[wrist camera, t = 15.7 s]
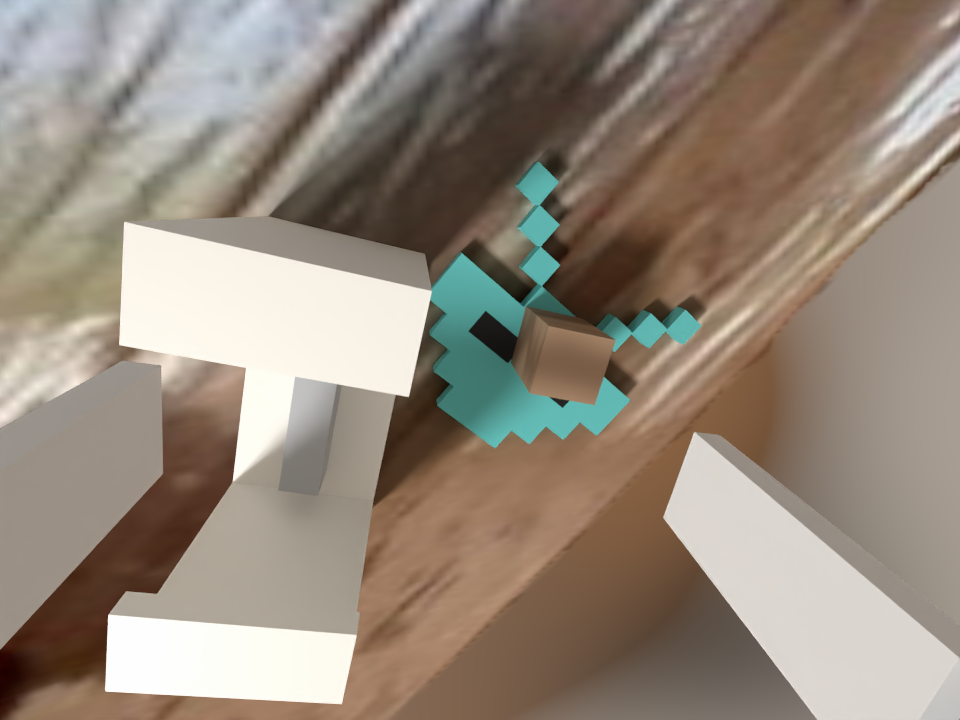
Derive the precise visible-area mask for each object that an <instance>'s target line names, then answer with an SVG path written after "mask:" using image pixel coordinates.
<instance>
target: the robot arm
mask: <svg viewBox="0 0 960 720" xmlns="http://www.w3.org/2000/svg"><path fill="white" fill-rule="evenodd" d="M162 474H163V448H162V389H161V366H160V365H152V364H144V363H136V362H128V361H121V362H120V363H118V364H116V365H114V366H112V367H111V368H109V369H107V370H105V371H103V372H102V373H100V374H98V375H96V376H94V377H93V378H91V379H89V380H87V381H85V382H83V383H82V384H80V385H78V386H76V387H74V388H73V389H71V390H69V391H67V392H65V393H64V394H62V395H60V396H58V397H56V398H55V399H53V400H51V401H49V402H47V403H45V404H44V405H42V406H40V407H38V408H36V409H35V410H33V411H31V412H29V413H27V414H26V415H24V416H22V417H20V418H18V419H17V420H15V421H13V422H11V423H9V424H7V425H6V426H4V427H2V428H0V649H1V648H2V647H3V646H4V645H5V644H6V643H7V642H8V640H9V639H10V638H11V637H12V636H13V635H14V634H15V633H16V632H17V631H18V630H19V629H20V628H21V626H22V625H23V624H24V623H25V622H26V621H27V620H28V619H29V618H30V617H31V616H32V615H33V613H34V612H35V611H36V610H37V609H38V608H39V607H40V606H41V605H42V604H43V603H44V602H45V601H46V599H47V598H48V597H49V596H50V595H51V594H52V593H53V592H54V591H55V590H56V589H57V588H58V586H59V585H60V584H61V583H62V582H63V581H64V580H65V579H66V578H67V577H68V576H69V575H70V573H71V572H72V571H73V570H74V569H75V568H76V567H77V566H78V565H79V564H80V563H81V562H82V561H83V559H84V558H85V557H86V556H87V555H88V554H89V553H90V552H91V551H92V550H93V549H94V548H95V546H96V545H97V544H98V543H99V542H100V541H101V540H102V539H103V538H104V537H105V536H106V535H107V534H108V532H109V531H110V530H111V529H112V528H113V527H114V526H115V525H116V524H117V523H118V522H119V521H120V519H121V518H122V517H123V516H124V515H125V514H126V513H127V512H128V511H129V510H130V509H131V508H132V507H133V505H134V504H135V503H136V502H137V501H138V500H139V499H140V498H141V497H142V496H143V495H144V494H145V492H146V491H147V490H148V489H149V488H150V487H151V486H152V485H153V484H154V483H155V482H156V481H157V480H158V478H159V477H160V476H161V475H162ZM664 519H665V520H666V522H667V523H668V524H669V526H670V527H671V528H672V530H673V531H674V532H675V534H676V535H677V536H678V537H679V539H680V540H681V541H682V543H683V544H684V545H685V547H686V548H687V549H688V551H689V552H690V553H691V555H692V556H693V557H694V558H695V560H696V561H697V562H698V564H699V565H700V566H701V567H702V569H703V570H704V572H705V573H706V574H707V575H708V577H709V578H710V579H711V581H712V582H713V583H714V585H715V586H716V587H717V589H718V590H719V591H720V592H721V594H722V595H723V596H724V598H725V599H726V600H727V602H728V603H729V604H730V606H731V607H732V608H733V610H734V611H735V612H736V614H737V615H738V616H739V617H740V619H741V620H742V621H743V623H744V624H745V625H746V627H747V628H748V629H749V630H750V632H751V633H752V634H753V636H754V637H755V638H756V640H757V641H758V642H759V644H760V645H761V646H762V648H763V649H764V650H765V652H766V653H767V654H768V655H769V657H770V658H771V659H772V661H773V662H774V663H775V664H776V666H777V667H778V669H779V670H780V671H781V672H782V674H783V675H784V676H785V678H786V679H787V680H788V682H789V683H790V684H791V686H792V687H793V688H794V689H795V691H796V692H797V693H798V695H799V696H800V697H801V699H802V700H803V701H804V703H805V704H806V705H807V707H808V708H809V709H810V710H811V712H812V713H813V714H814V716H815V717H816V718H817V720H960V625H959V624H958V623H956V622H955V621H954V620H952V619H951V618H950V617H949V616H948V615H946V614H945V613H944V612H943V611H941V610H940V609H939V608H937V607H936V606H935V605H934V604H932V603H931V602H930V601H929V600H927V599H926V598H925V597H924V596H922V595H921V594H920V593H918V592H917V591H916V590H915V589H913V588H912V587H911V586H910V585H908V584H907V583H906V582H905V581H903V580H902V579H901V578H900V577H898V576H897V575H896V574H895V573H893V572H892V571H891V570H889V569H888V568H887V567H886V566H884V565H883V564H882V563H881V562H879V561H878V560H877V559H876V558H874V557H873V556H872V555H871V554H869V553H868V552H867V551H865V550H864V549H863V548H862V547H860V546H859V545H858V544H857V543H855V542H854V541H853V540H852V539H850V538H849V537H848V536H847V535H845V534H844V533H843V532H841V531H840V530H839V529H838V528H836V527H835V526H834V525H833V524H831V523H830V522H829V521H828V520H826V519H825V518H824V517H822V516H821V515H820V514H819V513H817V512H816V511H815V510H813V509H812V508H811V507H810V506H809V505H807V504H806V503H805V502H804V501H802V500H801V499H800V498H798V497H797V496H796V495H795V494H793V493H792V492H791V491H790V490H788V489H787V488H786V487H785V486H783V485H782V484H781V483H780V482H778V481H777V480H776V479H774V478H773V477H772V476H771V475H769V474H768V473H767V472H765V471H764V470H763V469H762V468H760V467H759V466H758V465H757V464H755V463H754V462H753V461H752V460H750V459H749V458H748V457H747V456H745V455H744V454H743V453H742V452H740V451H739V450H738V449H736V448H735V447H734V446H733V445H731V444H730V443H729V442H728V441H726V440H725V439H724V438H723V437H721V436H720V435H715V434H707V433H699V432H694V434H693V437H692V440H691V443H690V445H689V448H688V451H687V454H686V457H685V459H684V462H683V465H682V468H681V470H680V474H679V476H678V479H677V482H676V484H675V487H674V490H673V493H672V496H671V498H670V501H669V504H668V506H667V510H666V512H665V515H664Z"/></svg>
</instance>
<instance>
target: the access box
mask: <svg viewBox="0 0 960 720" xmlns="http://www.w3.org/2000/svg"><path fill="white" fill-rule="evenodd" d="M431 293H432V289H431V284H430V278H429V273H428V268H427V262H426V257H425V254H424V253H420V252H415V251H411V250H407V249H403V248H399V247H395V246H390V245H386V244H382V243H378V242H374V241H369V240H365V239H361V238H357V237H353V236H349V235H344V234H340V233H336V232H332V231H328V230H324V229H319V228H315V227H311V226H307V225H303V224H298V223H294V222H290V221H286V220H282V219H278V218H273V217H269V216H261V217H236V218H211V219H186V220H161V221H136V222H124V242H123V266H122V291H121V316H120V341H119V345H122V346H128V347H133V348H139V349H144V350H150V351H155V352H161V353H167V354H172V355H178V356H183V357H189V358H194V359H200V360H205V361H211V362H217V363H222V364H228V365H233V366H239V367H244V368H246V374H245V383H244V391H243V400H242V408H241V417H240V425H239V434H238V442H237V451H236V459H235V468H234V476H233V483H232V484H231V486H230V487H229V489H228V490H227V491H226V493H225V494H224V496H223V497H222V499H221V500H220V502H219V503H218V505H217V506H216V508H215V509H214V511H213V512H212V514H211V515H210V517H209V518H208V520H207V521H206V523H205V524H204V525H203V527H202V528H201V530H200V531H199V533H198V534H197V536H196V537H195V539H194V540H193V542H192V543H191V545H190V546H189V548H188V549H187V551H186V552H185V554H184V555H183V557H182V558H181V559H180V561H179V562H178V564H177V565H176V567H175V568H174V570H173V571H172V573H171V574H170V576H169V577H168V579H167V580H166V582H165V583H164V585H163V586H162V588H161V589H160V591H159V592H158V593H157V594H149V593H138V592H127V591H126V592H125V594H124V595H123V596H122V598H121V599H120V600H119V602H118V603H117V604H116V606H115V607H114V608H113V609H112V611H111V612H110V613H109V615H108V638H107V663H106V687H105V691H108V692H126V693H145V694H164V695H182V696H201V697H219V698H238V699H257V700H275V701H294V702H312V703H331V704H342V700H343V696H344V691H345V686H346V682H347V677H348V673H349V668H350V664H351V659H352V654H353V650H354V645H355V641H356V636H357V630H358V622H359V615H360V613H359V612H357V607H358V600H359V594H360V587H361V580H362V574H363V567H364V560H365V553H366V547H367V540H368V533H369V527H370V520H371V513H372V507H373V500H374V496H375V491H376V486H377V481H378V477H379V472H380V467H381V462H382V458H383V453H384V448H385V443H386V439H387V434H388V429H389V424H390V419H391V415H392V410H393V405H394V400H395V396H396V395H400V396H406V397H409V394H410V389H411V385H412V380H413V375H414V371H415V366H416V362H417V357H418V353H419V348H420V343H421V339H422V334H423V330H424V325H425V321H426V316H427V311H428V307H429V302H430V298H431Z"/></svg>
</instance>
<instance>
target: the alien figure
mask: <svg viewBox="0 0 960 720" xmlns="http://www.w3.org/2000/svg"><path fill="white" fill-rule="evenodd" d="M558 183H559V182H558V181H557V180H556V179H555V178H554V177H553V175H552V174H551V173H550V172H549V171H548V170H547V169H546V168H545V167H544V166H543V165H542V164H541V163H540V162H539V161H537V162H535V163H533V165H532V166H531V167H530V168H529V169H528V171H527V172H526V173H525V174H524V175H523V177H522V178H521V179H520V180H519V181H518V183H517V184H516V185H515V186H516V187H517V188H518V189H519V190H520V191H521V192H522V193H523V194H524V195H525V196H526V197H527V198H528V199H529V200H530V201H531V202H532V203H533V204H534V205H535V206H534V207H533V208H532V209H531V211H530V212H529V213H528V214H527V215H526V217H525V218H524V219H523V220H522V221H521V223H520V224H519V225H518V226H517V228H518V229H519V230H520V231H521V232H522V233H524V234H525V235H526V236H527V237H528V238H529V239H530V240H531V241H532V242H533V243H534V244H535V245H536V246H535V247H534V249H533V250H532V251H531V252H530V253H529V254H528V256H527V257H526V258H525V259H524V260H523V261H522V263H521V264H520V265H519V267H520V268H521V269H522V270H523V271H524V272H525V273H526V274H527V275H529V276H530V277H531V278H532V279H533V280H534V281H535V282H536V283H537V285H536V286H535V287H534V288H533V289H532V290H531V292H530V293H529V294H528V295H527V296H526V297H525V298H524V300H523V301H522V302H521V303H519V302H517V301H516V300H515V299H514V298H513V297H512V296H511V295H509V294H508V293H507V292H506V291H505V290H504V289H503V288H501V287H500V286H499V285H498V284H497V283H496V282H495V281H493V280H492V279H491V278H490V277H489V276H488V275H487V274H485V273H484V272H483V271H482V270H481V269H480V268H479V267H477V266H476V265H475V264H474V263H473V262H472V261H470V260H469V259H468V258H467V257H466V256H465V255H464V254H462V253H461V252H460V253H459V254H458V255H457V256H456V257H455V259H454V260H453V261H452V262H451V263H450V265H449V266H448V267H447V268H446V270H445V271H444V272H443V273H442V274H441V276H440V277H439V278H438V279H437V280H436V282H435V283H434V284H433V285H432V286H431V289H432V293H431V298H430V301H432V302H433V303H434V304H435V305H437V306H438V307H439V308H440V309H441V310H443V311H444V312H445V313H444V314H443V315H442V316H441V317H440V319H439V320H438V321H437V322H436V323H435V325H434V326H433V327H432V328H431V329H430V330H429V332H430V336H432V337H433V338H434V339H436V340H437V341H438V342H439V343H441V344H442V345H443V346H444V347H446V348H447V350H446V351H445V352H444V354H443V355H442V356H441V357H440V358H439V359H438V361H437V362H436V363H435V364H434V365H433V370H434V372H435V373H436V374H438V375H439V376H440V377H442V378H443V379H444V380H446V381H447V382H448V383H450V385H449V386H448V387H447V388H446V389H445V390H444V391H443V393H442V394H441V395H440V396H439V397H438V398H437V406H438V407H439V408H441V409H442V410H443V411H445V412H446V413H448V414H449V415H450V416H452V417H453V418H454V419H456V420H457V421H458V422H460V423H461V424H462V425H464V426H465V427H467V428H468V429H469V430H471V431H472V432H473V433H475V434H476V435H477V436H479V437H480V438H482V439H483V440H484V441H486V442H487V443H488V444H490V445H491V446H492V447H494V448H496V447H497V446H498V445H499V443H500V442H501V441H502V440H503V439H504V438H505V437H506V436H507V435H508V434H509V432H510V431H513V432H514V433H515V434H517V435H518V436H519V437H521V438H522V439H523V440H525V441H526V442H527V443H529V444H530V443H531V442H532V441H533V440H534V439H535V437H536V436H537V435H538V434H539V433H540V432H541V431H542V430H543V429H544V428H545V427H547V428H549V429H550V430H551V431H553V432H554V433H555V434H556V435H558V436H559V437H560V438H561V439H563V440H564V439H565V437H566V436H567V435H568V434H569V433H570V432H571V431H572V430H573V429H574V428H575V427H576V426H577V425H578V424H579V423H582V424H583V425H584V426H585V427H586V428H588V429H589V430H590V431H591V432H593V433H594V434H595V435H596V436H597V435H598V434H599V433H600V432H601V431H602V430H603V428H604V427H605V426H606V425H607V424H608V423H609V422H610V421H611V420H612V419H613V418H614V417H615V416H616V415H617V414H618V413H619V412H620V411H621V410H622V409H623V408H624V406H625V405H626V404H627V403H628V402H629V401H630V399H629V398H627V397H626V396H625V395H624V394H623V393H622V392H621V391H619V390H618V389H617V388H616V387H615V386H614V385H613V384H611V383H610V382H609V381H608V380H607V379H606V378H605V377H604V378H603V381H602V384H601V387H600V390H599V393H598V396H597V399H596V403H595V405H591V404H585V403H580V402H574V401H569V400H563V399H558V398H552V397H547V396H541V395H536V394H530V393H529V391H528V390H527V388H526V387H525V385H524V383H523V382H522V380H521V379H520V377H519V375H518V374H517V372H516V370H515V369H514V367H513V366H512V364H511V361H512V357H513V353H514V350H515V346H516V342H517V338H518V335H519V331H520V327H521V323H522V320H523V316H524V312H525V308H526V306H528V307H532V308H537V309H542V310H546V311H551V312H555V313H560V314H565V315H569V316H574V315H573V314H572V313H571V312H570V311H569V310H568V309H567V308H565V307H564V306H563V305H562V304H561V303H560V302H559V301H558V300H557V299H555V298H554V297H553V296H552V295H551V294H550V293H549V292H548V291H547V290H546V289H544V288H543V287H542V285H543V284H544V283H545V282H546V281H547V280H548V279H549V277H550V276H551V275H552V274H553V273H554V272H555V271H556V269H557V268H558V267H559V266H560V264H559V263H558V262H557V261H555V260H554V259H553V258H552V257H551V256H550V255H549V254H548V253H547V252H546V251H545V250H544V249H543V248H542V247H541V246H542V245H543V243H544V242H545V241H546V240H547V239H548V238H549V236H550V235H551V234H552V233H553V232H554V231H555V229H556V228H557V227H558V226H559V225H560V224H559V223H557V222H556V221H555V220H554V219H553V218H552V217H551V216H550V215H549V214H548V213H547V212H546V211H545V210H544V209H543V208H542V207H541V206H540V204H541V203H542V202H543V200H544V199H545V198H546V197H547V196H548V194H549V193H550V192H551V191H552V190H553V189H554V187H555V186H556V185H557V184H558ZM574 317H575V316H574ZM700 327H701V325H700V324H699V323H698V322H697V321H696V320H695V319H694V318H693V317H692V316H691V315H690V314H689V313H688V312H687V311H686V310H685V309H682V308H680V307H676V308H675V309H674V310H673V311H672V312H671V313H670V314H669V315H668V316H667V317H666V318H665V319H664V320H663V322H662V323H660V322H659V321H658V320H657V319H656V318H655V317H654V316H653V315H652V314H651V313H649V312H647V311H645V310H642V311H641V312H640V313H639V314H638V316H637V317H636V318H635V319H634V320H633V321H632V322H631V323H630V324H629V325H628V326H627V327H626V326H625V325H624V324H623V323H622V322H621V321H620V320H618V319H617V318H616V317H615V316H613V315H611V314H609V313H608V314H607V315H606V317H605V318H604V319H603V320H602V321H601V322H600V323H599V324H598V325H597V326H596V328H598V329H599V330H601V331H603V332H604V333H606V334H607V335H609V336H610V337H612V338H613V339H615V340H616V341H615V344H614V347H613V351H614V352H615V351H616V350H617V349H618V348H619V347H620V346H621V345H622V344H623V343H624V342H625V340H626V339H627V338H628V337H629V336H630V335H631V334H632V335H633V336H634V337H635V338H636V339H637V340H638V341H639V342H640V343H641V344H643V345H644V346H646V347H648V348H650V347H651V346H652V345H653V344H654V343H655V342H656V341H657V340H658V339H659V338H660V336H661V335H662V334H663V333H664V332H666V333H667V334H669V335H670V336H671V337H672V338H673V339H674V340H675V341H677V342H679V343H681V344H683V345H684V344H685V342H686V341H687V340H688V339H689V338H690V337H691V336H692V335H693V334H694V333H695V332H696V331H697V330H698V329H699V328H700Z"/></svg>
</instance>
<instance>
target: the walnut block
mask: <svg viewBox="0 0 960 720" xmlns="http://www.w3.org/2000/svg"><path fill="white" fill-rule="evenodd" d="M615 341H616V340H615V339H613V338H612V337H610V336H609V335H607V334H606V333H604V332H603V331H601V330H599V329H598V328H596V327H595V326H593V325H592V324H590V323H589V322H587V321H586V320H584V319H583V318H578V317H574V316H569V315H565V314H560V313H555V312H551V311H546V310H542V309H537V308H532V307H528V306H526V308H525V312H524V316H523V320H522V323H521V327H520V331H519V335H518V338H517V342H516V346H515V350H514V353H513V357H512V361H511V364H512V366H513V367H514V369H515V370H516V372H517V374H518V375H519V377H520V379H521V380H522V382H523V383H524V385H525V387H526V388H527V390H528V391H529V393H530V394H536V395H541V396H547V397H552V398H558V399H563V400H569V401H574V402H580V403H585V404H591V405H595V403H596V399H597V396H598V393H599V390H600V387H601V384H602V381H603V378H604V375H605V372H606V369H607V366H608V363H609V359H610V356H611V353H612V350H613V347H614V344H615Z"/></svg>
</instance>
